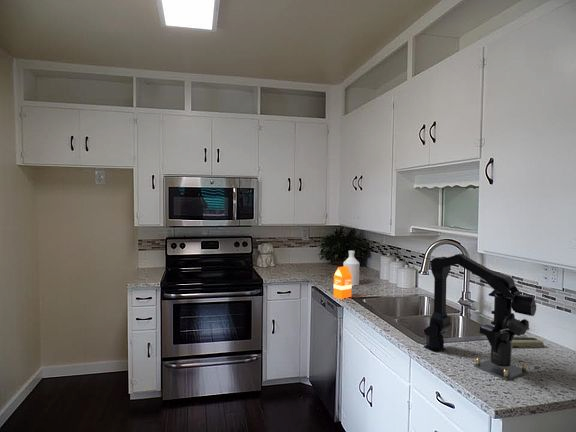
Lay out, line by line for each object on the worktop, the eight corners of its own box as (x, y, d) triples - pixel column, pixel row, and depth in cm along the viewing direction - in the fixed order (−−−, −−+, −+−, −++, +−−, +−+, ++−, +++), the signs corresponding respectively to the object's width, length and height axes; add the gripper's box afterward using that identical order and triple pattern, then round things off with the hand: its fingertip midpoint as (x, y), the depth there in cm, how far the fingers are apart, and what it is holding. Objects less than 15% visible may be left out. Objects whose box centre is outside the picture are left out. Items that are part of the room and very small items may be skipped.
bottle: (359, 286, 280) (359, 252, 279) (342, 285, 282) (343, 251, 281) (359, 282, 292) (359, 250, 291) (343, 282, 294) (343, 249, 293)
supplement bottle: (515, 367, 142) (516, 335, 142) (497, 367, 142) (498, 335, 141) (503, 359, 149) (505, 328, 149) (486, 359, 149) (487, 329, 148)
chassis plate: (474, 366, 148) (474, 357, 148) (495, 359, 154) (495, 351, 154) (506, 380, 137) (506, 371, 137) (528, 373, 143) (528, 364, 143)
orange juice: (333, 296, 250) (333, 266, 249) (342, 294, 256) (343, 265, 255) (341, 299, 244) (342, 268, 243) (351, 297, 249) (352, 266, 248)
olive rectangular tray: (531, 341, 175) (531, 334, 175) (544, 348, 167) (544, 341, 167) (497, 342, 175) (498, 334, 175) (508, 349, 167) (509, 341, 167)
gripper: (508, 319, 133) (506, 363, 134) (539, 312, 142) (537, 353, 142) (478, 310, 143) (477, 351, 144) (510, 304, 151) (508, 343, 152)
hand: (501, 350), depth 145 cm, fingers closed on supplement bottle, 7 cm apart
